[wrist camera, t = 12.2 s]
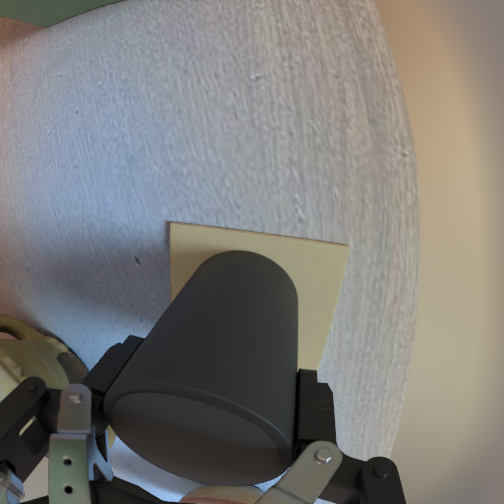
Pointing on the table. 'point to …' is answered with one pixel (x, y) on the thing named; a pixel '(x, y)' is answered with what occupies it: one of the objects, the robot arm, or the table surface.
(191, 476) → the dark grey cylinder
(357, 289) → the table surface
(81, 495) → the robot arm
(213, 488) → the vase
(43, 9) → the green open box
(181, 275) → the mat
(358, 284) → the table surface
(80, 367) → the bowl
